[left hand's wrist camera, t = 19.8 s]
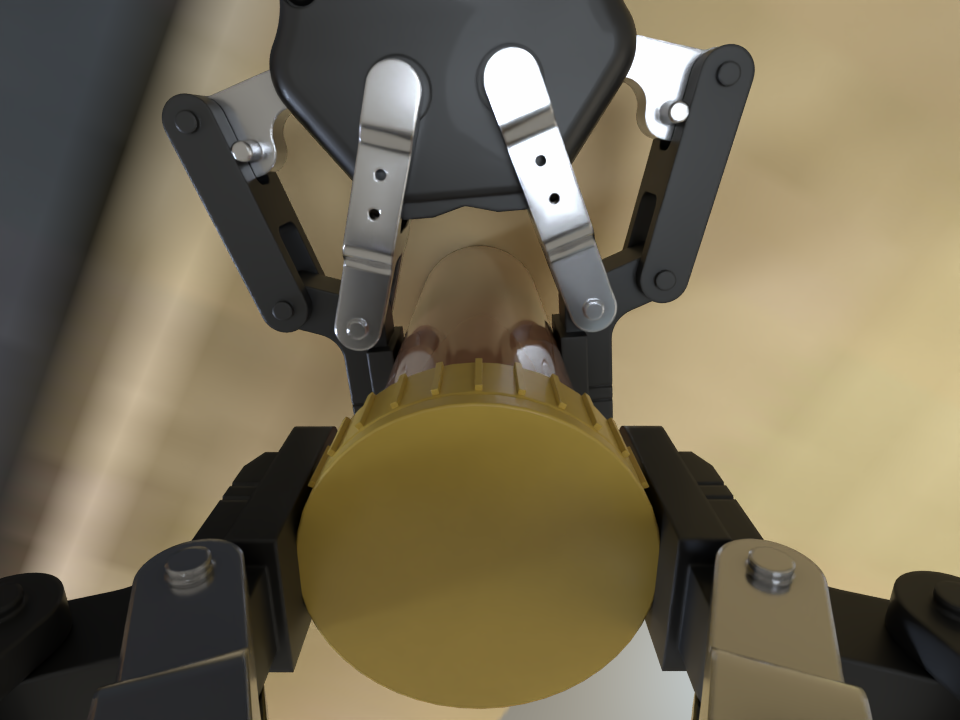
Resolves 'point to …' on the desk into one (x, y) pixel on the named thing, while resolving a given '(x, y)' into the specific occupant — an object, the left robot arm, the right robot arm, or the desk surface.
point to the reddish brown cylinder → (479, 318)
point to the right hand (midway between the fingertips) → (488, 447)
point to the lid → (478, 538)
